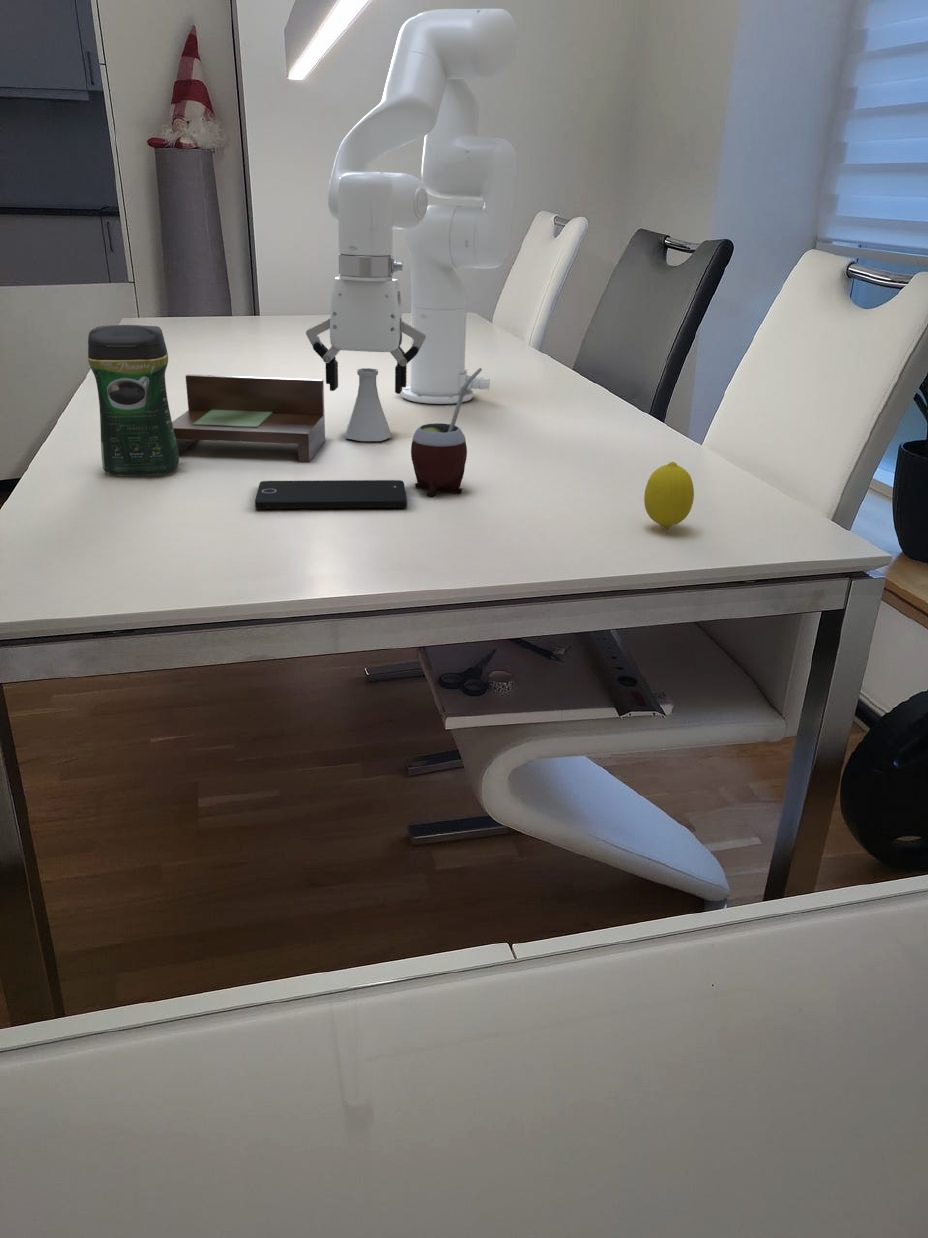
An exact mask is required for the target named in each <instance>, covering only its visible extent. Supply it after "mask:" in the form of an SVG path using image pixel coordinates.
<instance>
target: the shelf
mask: <svg viewBox="0 0 928 1238" xmlns="http://www.w3.org/2000/svg"><path fill="white" fill-rule="evenodd" d="M185 387H186V399H187V409H188V410H187V411H185V412H184V413H182V414H181V415H179V416H178V417H177V418H175V419H174V420H172V424H173V429H174V433H175V438H176V443H177V448H178V455H179V456H180V455H181V454H182V453H184V452H185V451H186V450H187V449H188V448H189V447H191V446H192V445H193V444H194V443H195V442H196V441H216V442H217V441H219V442H240V443H241V442H242V443H243V442H244V443H264V444H265V443H269V444H270V443H271V444H292V445H297V451H298V452H297V455H298V462H299V463H310V462H311V461H312V460H313V458H314V457H315V455H316V454H317V452H318V451H319V450H320V448H321V447H322V445H323V444H324V443H325V442H326V419H325V388H324V387H325V385H324V379H321V378H320V379H319V378H318V379H317V378H314V379H313V378H292V377H267V376H265V377H264V376H242V375H237V376H236V375H216V374H215V375H212V374H186V375H185Z"/></svg>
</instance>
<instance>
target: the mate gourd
mask: <svg viewBox="0 0 928 1238" xmlns="http://www.w3.org/2000/svg"><path fill="white" fill-rule="evenodd" d="M482 370H483V369H482V367H479V368H478V369H477V370H476V371H474V372H473V373H472V374H471V375H469V376H470V377H469V378H468V379H467V381H466V382H465V383H464V385H463V387H461V389H460V392H459V394H460V395H459V398H458V401H457V403H456V405H455V409H454V410H453V411H454V412H453V415H452V417H451V421H450V423H443V422H441V423H439V422H438V423H437V422H436V423H435V422H434V423H425V424H422V425H420V426H418V428H416V431H415V432H414V434H413V436H412V440H411V445H410V458H411V462H412V465H413V471H414V474H415V478H416V483H414V487H415V489H421V490H428V491H427V492H426V497H429V498H432V497H435V495H437V494H438V493H440V492H444V493H451V494H459V495H460V494H462V491H463V488H461V485H462V482H463V478H464V475H465V470H466V469H465V468H466V462H467V456H468V447H467V442H466V441H467V440H466V436H465V434H464V433H463V431H462V429H461V428H460V427H459V426H458V425H456V423H457V419H458V416H459V413H460V410H461V407H462V404H463V402H462V400H463V397H464V396H465V394H466V392H467V387H468V385H469V384H470V383H471V381H472V380H473V379H474V378H477V377H478V375H479V374H480V373H481V372H482Z"/></svg>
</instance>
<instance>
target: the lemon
mask: <svg viewBox="0 0 928 1238" xmlns="http://www.w3.org/2000/svg"><path fill="white" fill-rule="evenodd" d="M693 482H694V481H693V479H692V477H691V475H690V474H689V472H688V471H687V470H686V469H685V468H684V467H682V466H680V465H678V463H677V462H675V461H669V462H668V463H667V464H665V465H662V466H660V467H658V468H656V469H655V470H654V471H652V473H651V474H650V476H649V478H648V480H647V483H646V485H645V489H644V498H643V503H644V509H645V511H646V513H647V515H648V518H650V519H651V520H652V521H653V522H654V523H656V524H657V525H659V526H660V528H661V529H662V530H669V529H670V528H672V526H674V525H678V524H680V523H682V522H683V521H684V520H685V519H686V518H687V517H688V516H689V514H690V512H691V510H692V507H693V504H694V499H695V490H694V489H695V488H694V483H693Z"/></svg>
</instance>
